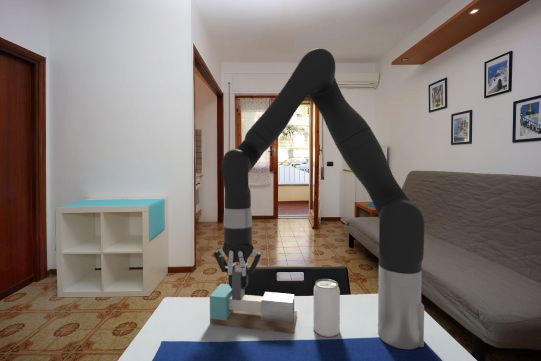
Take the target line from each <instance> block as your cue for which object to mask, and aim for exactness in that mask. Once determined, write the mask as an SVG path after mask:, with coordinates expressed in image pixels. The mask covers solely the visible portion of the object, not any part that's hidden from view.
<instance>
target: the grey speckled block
mask: <svg viewBox="0 0 541 361" xmlns="http://www.w3.org/2000/svg"><path fill="white" fill-rule="evenodd" d="M294 311H295V294H291V293H282V292H271V291H265V292H264V294H263V298H262V300H261V321H271V322H280V323H290V324H292V323H293V318H294Z"/></svg>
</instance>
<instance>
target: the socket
mask: <svg viewBox="0 0 541 361" xmlns="http://www.w3.org/2000/svg"><path fill="white" fill-rule="evenodd" d="M231 294H232V288H231V286H229V283H220V284H219V285H218V286H217V287H216V289H215V290H214V291H213V292H212V293H211V294H210V295H209V320H210V319H219V320H227V318H228V317H229V315H230V314H231V312H232V311H233V310H229V297H230V295H231Z"/></svg>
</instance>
